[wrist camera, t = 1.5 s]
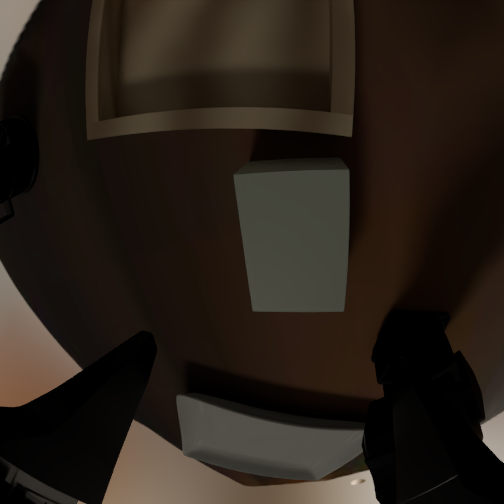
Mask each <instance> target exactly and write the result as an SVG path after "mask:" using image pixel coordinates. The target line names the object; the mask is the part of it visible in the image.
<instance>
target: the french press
mask: <svg viewBox="0 0 504 504" xmlns="http://www.w3.org/2000/svg"><path fill="white" fill-rule="evenodd" d="M7 135H8V137H9V140H10V144H9V145H6V146H4V144H5V139H6V136H7ZM12 161H14V180H12V179H11V177H10V176H9V174H8V172H7V169H6V165H5V164H7V163H9V162H12ZM38 165H39V151H38V143H37V138H36V134H35V131H34V128H33V126H32V124H31V123H30V121H29V120H28V119H27V118H26V117H25V116H23V115H14V116H12V117H10V118H9V119H5V120H1V121H0V204H1V203H3V204H4V208H5V211H6V216H4V217H3V218H1V219H0V224H1V223H3V222H5V221H6V220H8V219H10V218H11V217H13V216H14V210H13V206H12V203H11V198H13V197H15V196H17V195H19V194H25V193H27V192H28V191H29V190H30V189H31V188H32V187H33V185H34V183H35V181H36V177H37V173H38Z"/></svg>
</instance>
